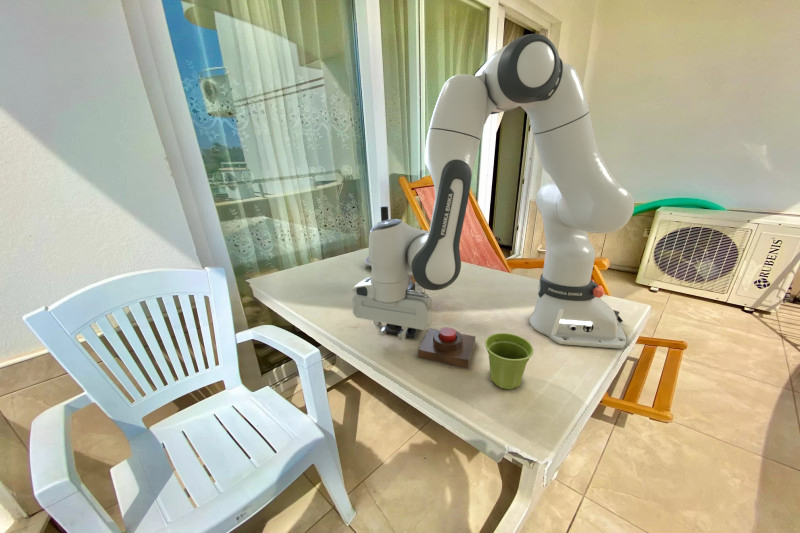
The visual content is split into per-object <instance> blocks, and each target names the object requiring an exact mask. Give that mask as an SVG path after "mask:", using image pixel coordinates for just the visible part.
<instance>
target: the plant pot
mask: <svg viewBox="0 0 800 533" xmlns="http://www.w3.org/2000/svg"><path fill="white" fill-rule="evenodd" d="M484 347H485V349H486V352H487V354H488V363H489V374H490V380H491V381H492V382H493V383H494V384H495V385H496V386H497V387H499V388H501V389H504V390H513V389H515V388H518V387H520V385H521V382H522V379H523V376H524V373H525V369H526V366H527V363H528V362H529V360H530V358H532V356H533V355H534V347H533V345H532V343H530V341H529V340H527V339H526V338H524V337H521V336H519V335H517V334H515V333H514V334H513V333H508V332H498V333H493V334H491V335H488V336H487V337H486V339H485V341H484Z"/></svg>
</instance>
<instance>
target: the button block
mask: <svg viewBox="0 0 800 533" xmlns="http://www.w3.org/2000/svg"><path fill="white" fill-rule="evenodd" d="M439 336H440V329H437V328H433V327H432V328H431V327H429V329H428V331H427V332H426V334H425V336H424V338H423V340H422V342H421V343H420V345H419V347H418V349H417V357H418V358H421V359H425V360H430V361H434V362H439V363H443V364H448V365H452V366H457V367H461V368H466V369H468V368H469V367H470V363H471V360H472V357H473V353H474V349H475V345H476V336H475V335H470V334H465V333H461V332H459V331H457V330H456V340H455V341H453V342H445V341H442V340H441V339H440V337H439Z"/></svg>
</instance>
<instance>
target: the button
mask: <svg viewBox="0 0 800 533" xmlns="http://www.w3.org/2000/svg"><path fill="white" fill-rule="evenodd" d="M439 330H440V336H439V337H440V339H441V340H442V341H445V342H453V341H455V340H456V331H457V330H456V329H454V327H449V326H446V327H442V328H440V329H439Z"/></svg>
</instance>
